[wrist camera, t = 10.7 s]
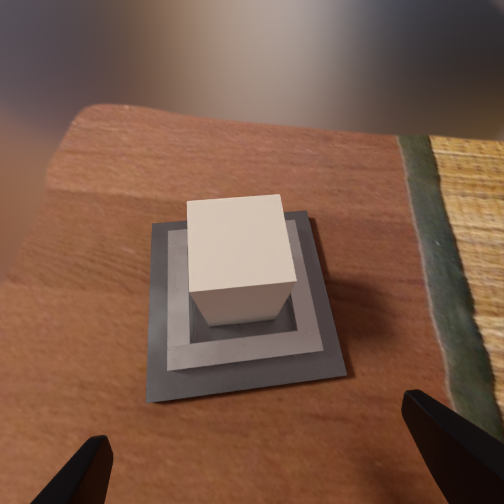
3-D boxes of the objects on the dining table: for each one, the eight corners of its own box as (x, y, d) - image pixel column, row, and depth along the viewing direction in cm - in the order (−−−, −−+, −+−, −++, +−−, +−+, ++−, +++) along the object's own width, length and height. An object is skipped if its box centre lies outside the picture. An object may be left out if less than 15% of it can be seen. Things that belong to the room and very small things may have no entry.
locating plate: (342, 375, 20) (355, 374, 18) (150, 402, 19) (138, 405, 17) (304, 216, 26) (310, 200, 24) (155, 229, 25) (146, 214, 23)
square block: (275, 319, 21) (297, 281, 13) (209, 326, 21) (188, 292, 12) (265, 259, 23) (279, 194, 15) (206, 265, 23) (187, 201, 14)
